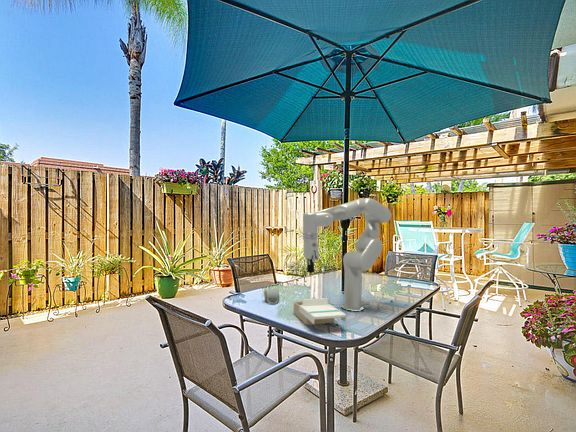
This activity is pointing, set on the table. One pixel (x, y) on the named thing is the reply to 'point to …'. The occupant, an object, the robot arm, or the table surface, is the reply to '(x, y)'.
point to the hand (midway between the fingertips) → (310, 272)
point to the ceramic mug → (271, 296)
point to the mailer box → (305, 320)
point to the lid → (319, 309)
